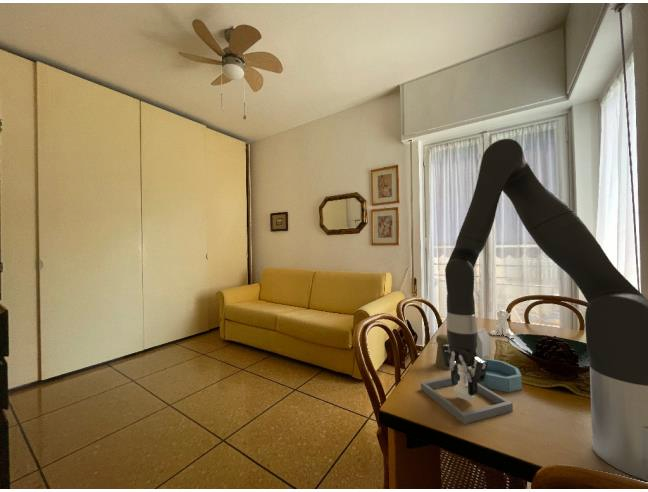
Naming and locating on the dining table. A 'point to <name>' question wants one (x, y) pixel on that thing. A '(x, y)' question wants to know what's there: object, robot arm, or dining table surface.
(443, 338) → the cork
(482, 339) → the grey house block
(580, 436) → the dining table surface
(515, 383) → the bowl
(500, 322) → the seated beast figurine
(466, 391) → the chess pawn
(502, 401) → the grey square frame
